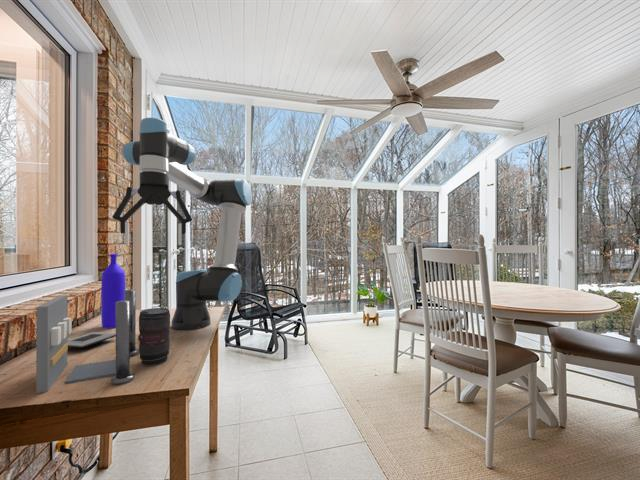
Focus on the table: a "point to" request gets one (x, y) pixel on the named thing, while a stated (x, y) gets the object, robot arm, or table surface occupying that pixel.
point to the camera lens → (154, 335)
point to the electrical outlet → (89, 339)
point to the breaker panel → (51, 341)
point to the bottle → (111, 292)
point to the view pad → (92, 371)
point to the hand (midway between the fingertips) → (154, 245)
